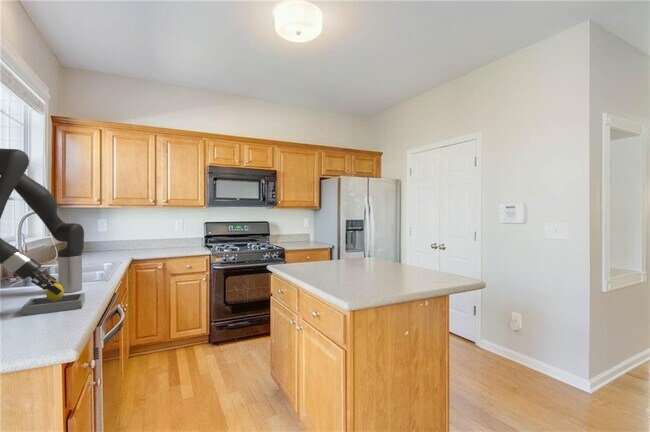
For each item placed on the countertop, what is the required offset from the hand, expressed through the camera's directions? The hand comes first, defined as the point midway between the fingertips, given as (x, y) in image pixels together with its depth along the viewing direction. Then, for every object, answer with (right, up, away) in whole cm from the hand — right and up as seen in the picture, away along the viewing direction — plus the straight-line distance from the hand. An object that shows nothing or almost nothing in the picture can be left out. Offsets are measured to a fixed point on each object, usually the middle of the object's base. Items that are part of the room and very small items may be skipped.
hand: (60, 291), depth 133 cm
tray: (-1, -7, -1) cm, 7 cm away
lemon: (-2, -4, -1) cm, 5 cm away
